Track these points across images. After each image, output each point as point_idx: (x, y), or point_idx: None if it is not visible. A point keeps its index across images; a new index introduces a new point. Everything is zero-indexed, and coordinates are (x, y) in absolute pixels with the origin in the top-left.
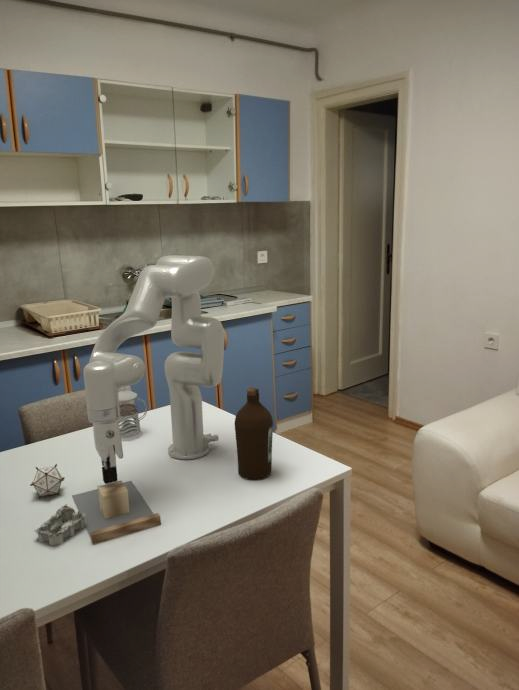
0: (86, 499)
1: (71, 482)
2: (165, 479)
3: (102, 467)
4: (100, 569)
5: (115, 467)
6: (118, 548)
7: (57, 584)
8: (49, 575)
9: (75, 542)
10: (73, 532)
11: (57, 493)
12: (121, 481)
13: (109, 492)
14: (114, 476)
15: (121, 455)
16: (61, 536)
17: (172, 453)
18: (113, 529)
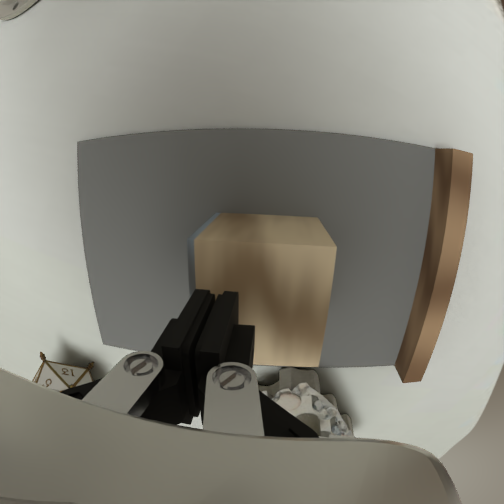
0: (140, 320)
1: (36, 313)
2: (133, 21)
3: (187, 422)
4: (487, 355)
5: (247, 369)
6: (465, 308)
7: (456, 418)
8: (426, 430)
9: (364, 392)
10: (334, 400)
11: (89, 370)
12: (201, 242)
13: (294, 334)
14: (253, 334)
15: (454, 492)
16: (351, 430)
17: (24, 2)
18: (440, 325)
